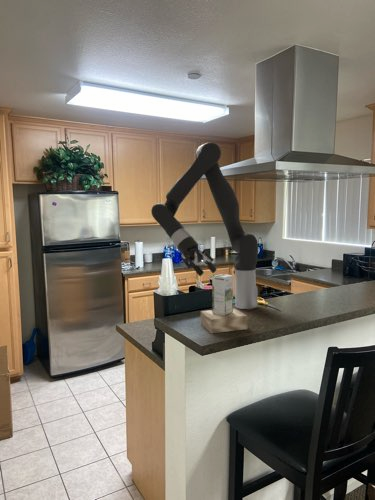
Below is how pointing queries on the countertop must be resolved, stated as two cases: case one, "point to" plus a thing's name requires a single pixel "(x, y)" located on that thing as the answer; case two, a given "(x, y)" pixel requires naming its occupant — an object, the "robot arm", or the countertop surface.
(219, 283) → the syrup box
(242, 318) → the riser block
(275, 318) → the countertop surface
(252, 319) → the countertop surface
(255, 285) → the robot arm
